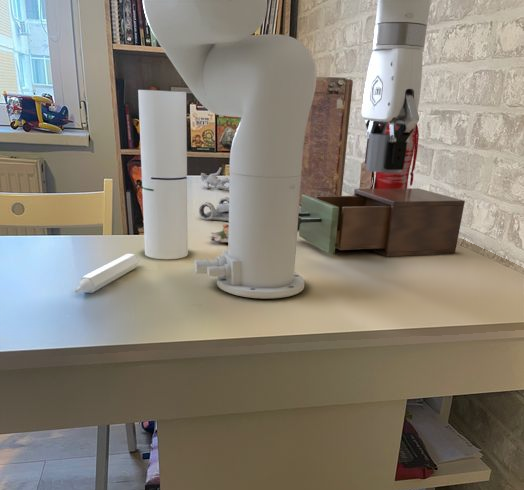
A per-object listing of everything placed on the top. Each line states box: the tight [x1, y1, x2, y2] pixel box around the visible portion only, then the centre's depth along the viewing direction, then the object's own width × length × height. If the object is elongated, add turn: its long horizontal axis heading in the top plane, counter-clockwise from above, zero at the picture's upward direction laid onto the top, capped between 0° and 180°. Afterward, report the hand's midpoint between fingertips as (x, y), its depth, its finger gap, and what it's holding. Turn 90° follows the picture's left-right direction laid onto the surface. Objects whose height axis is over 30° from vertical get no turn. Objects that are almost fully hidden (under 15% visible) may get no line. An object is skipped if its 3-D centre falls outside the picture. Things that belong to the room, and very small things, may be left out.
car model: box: [198, 196, 301, 222], centre depth 121 cm, size 11×24×5 cm, turn 65°
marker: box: [74, 253, 140, 294], centre depth 78 cm, size 3×2×16 cm
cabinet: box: [353, 187, 466, 258], centre depth 106 cm, size 15×15×10 cm
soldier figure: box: [200, 167, 230, 191], centre depth 164 cm, size 8×5×12 cm
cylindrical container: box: [137, 89, 189, 260], centre depth 89 cm, size 7×7×25 cm
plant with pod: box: [210, 126, 237, 243], centre depth 101 cm, size 8×11×20 cm
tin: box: [366, 133, 401, 173], centre depth 90 cm, size 6×6×6 cm
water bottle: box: [358, 122, 420, 189], centre depth 119 cm, size 12×8×25 cm, turn 66°
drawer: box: [298, 194, 391, 254], centre depth 101 cm, size 19×13×8 cm
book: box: [299, 76, 354, 207], centre depth 143 cm, size 25×9×30 cm, turn 73°
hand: (383, 165), depth 91 cm, fingers closed on tin, 5 cm apart
